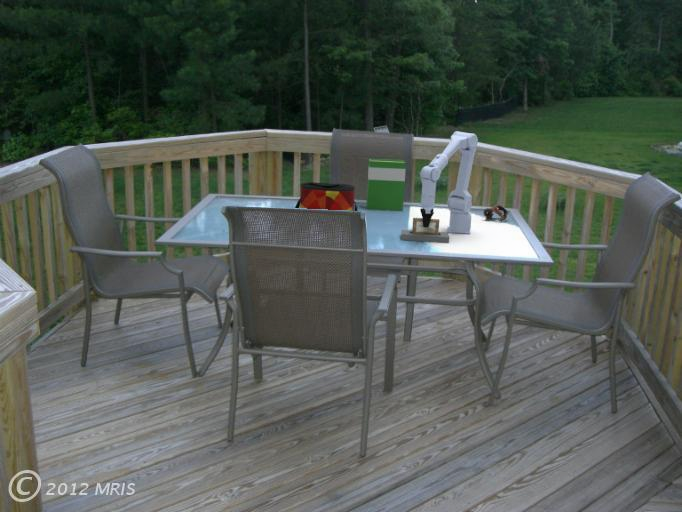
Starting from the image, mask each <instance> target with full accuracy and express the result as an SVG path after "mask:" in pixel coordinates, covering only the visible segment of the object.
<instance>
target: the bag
mask: <svg viewBox="0 0 682 512" xmlns="http://www.w3.org/2000/svg"><path fill="white" fill-rule="evenodd" d="M294 208H299V209H300V208H307V209H328V210H349V211H353V212H354V211H357V212H358V211H359V210H358V206H357V203H356V201H355V186H354V185H351V184H346V183H345V184H344V183H343V184H340V183H326V182H313V181H310V182H302V183H301V184H300V196H299V199H298V201H297V203H296V205H295V207H294Z"/></svg>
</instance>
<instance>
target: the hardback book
mask: <svg viewBox="0 0 682 512" xmlns="http://www.w3.org/2000/svg"><path fill="white" fill-rule="evenodd" d="M406 167H407V162H406V160H405V159H404V160H403V159H382V158H369V159H368V170H367V171H368V173H367V174H368V175H367V189H366V206H365V207H366V210H369V211H370V210H371V211H386V210H389V211H390V212H403V210H404V197H405V196H404V195H405V184H406V183H405V182H406Z"/></svg>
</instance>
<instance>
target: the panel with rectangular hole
mask: <svg viewBox="0 0 682 512" xmlns="http://www.w3.org/2000/svg"><path fill="white" fill-rule="evenodd" d="M400 237H401V241H412V242H413V241H414V242H425V241H428V243H443V244H450V234H449V232H448V231H447V232H445V231H438V235H429V234H413V233H412V229H401V233H400Z"/></svg>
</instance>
